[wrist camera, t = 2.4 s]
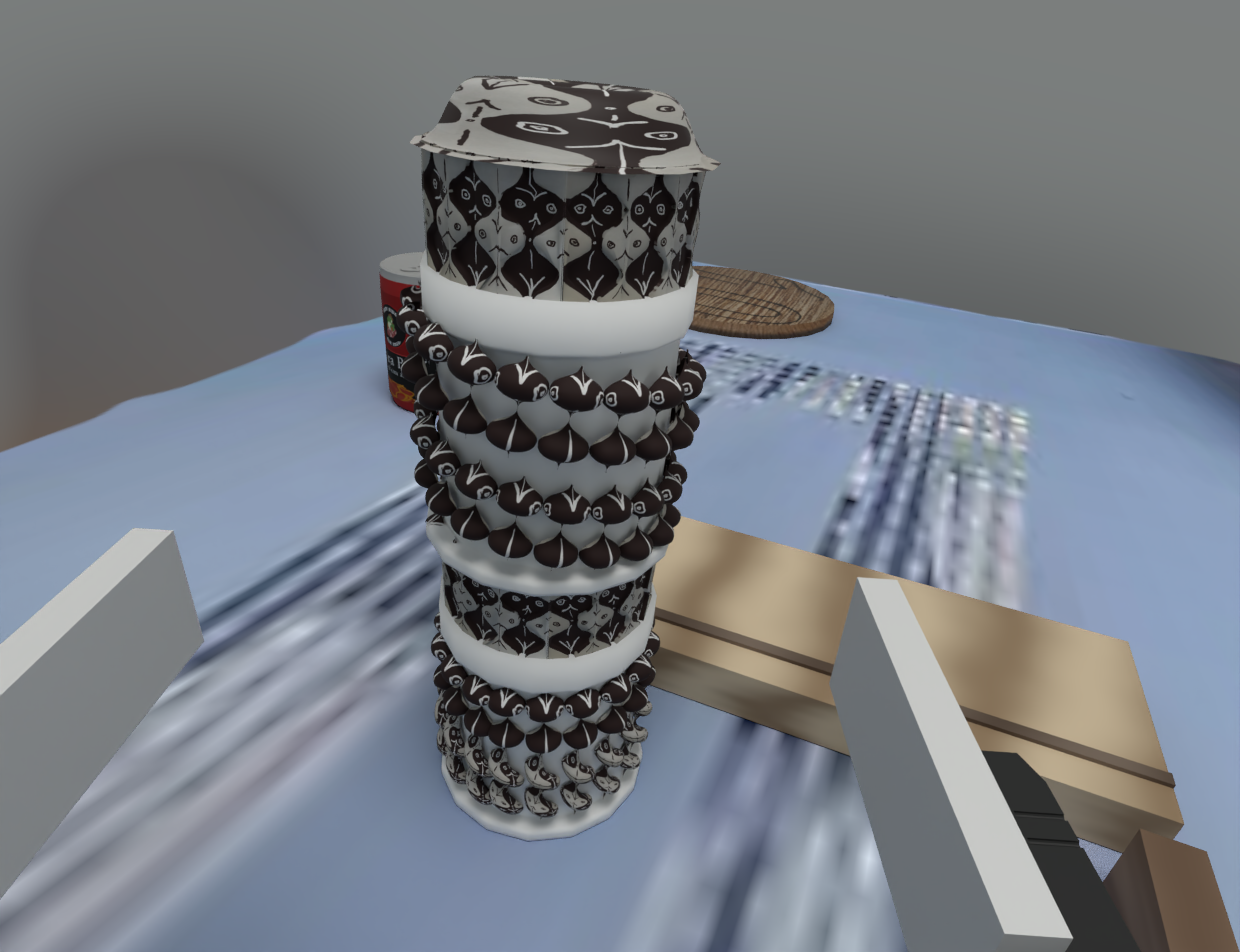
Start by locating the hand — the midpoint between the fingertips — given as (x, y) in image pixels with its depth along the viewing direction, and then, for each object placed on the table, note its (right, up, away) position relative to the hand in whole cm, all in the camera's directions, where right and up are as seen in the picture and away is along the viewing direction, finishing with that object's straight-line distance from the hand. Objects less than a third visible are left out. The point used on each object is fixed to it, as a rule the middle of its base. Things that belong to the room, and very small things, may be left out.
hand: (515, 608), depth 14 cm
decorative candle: (-1, -9, +17) cm, 19 cm away
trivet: (+16, +24, +77) cm, 82 cm away
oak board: (+12, -7, +23) cm, 27 cm away
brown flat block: (+19, -15, +10) cm, 26 cm away
